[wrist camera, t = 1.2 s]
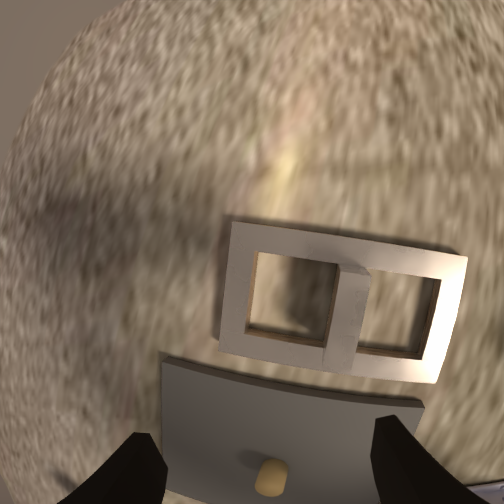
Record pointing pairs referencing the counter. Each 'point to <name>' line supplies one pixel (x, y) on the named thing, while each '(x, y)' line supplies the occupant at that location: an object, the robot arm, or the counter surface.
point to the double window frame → (339, 303)
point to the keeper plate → (269, 438)
